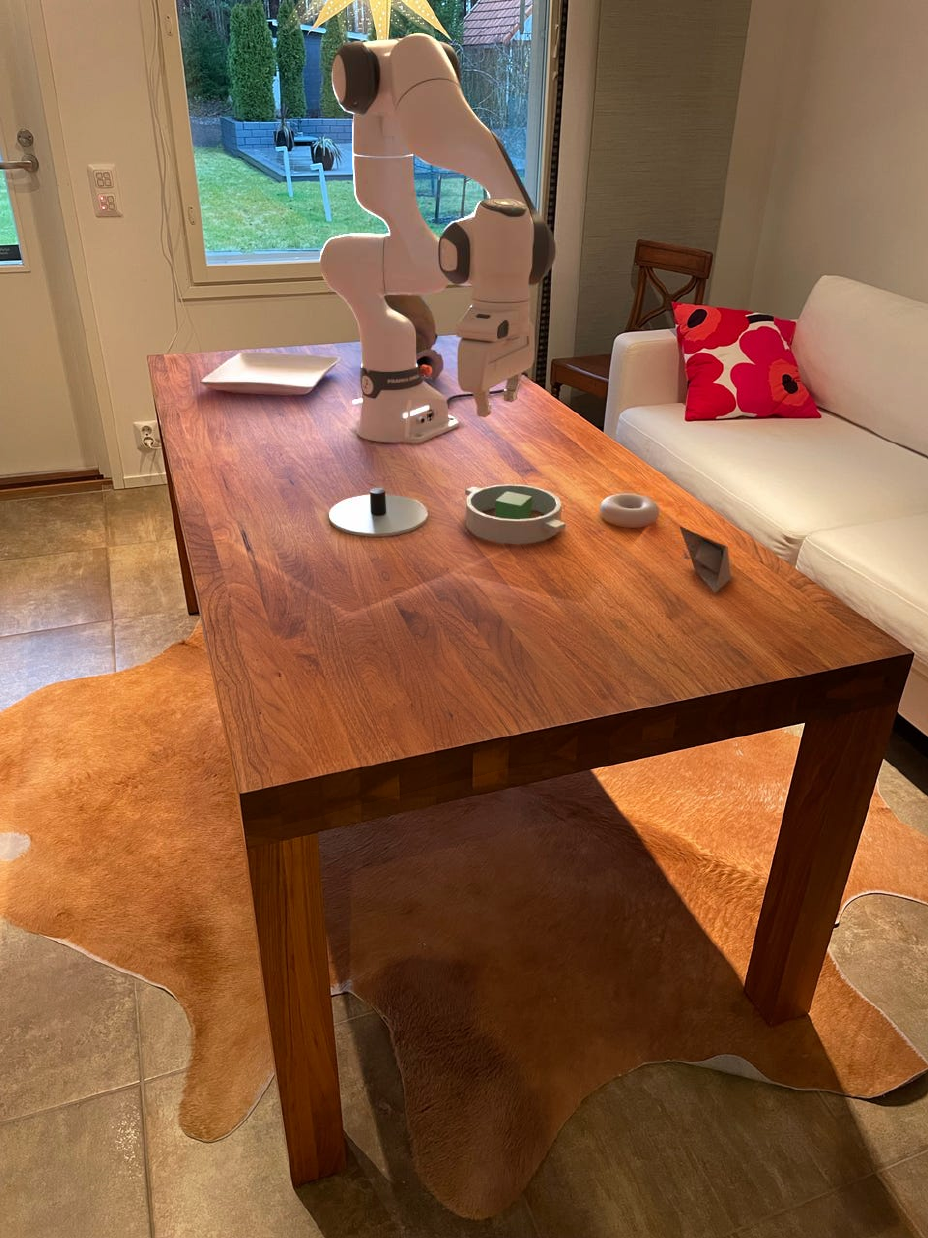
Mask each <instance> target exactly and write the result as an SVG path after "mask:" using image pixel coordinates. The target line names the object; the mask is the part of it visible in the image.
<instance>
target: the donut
mask: <svg viewBox="0 0 928 1238" xmlns="http://www.w3.org/2000/svg"><path fill="white" fill-rule="evenodd" d="M599 514H600V517H602V519H603V521H605V522H607V523H608V524H610V525H613V526H615V527H620V528H625V529H640V528H641V529H642V528H647V527H649V526H652V525H653V524H654V523H655V522H656V521H657V520H658V519H659V516H660V508H659V506H658V504H657V503H656V502H655V501H654V500H653V499H652V498H649V497H647V496H645V495H641V494H638V493H630V492H628V493H616V494H612V495H609V496H607V497H605V499H604V500H602V502H601V503H600V507H599Z"/></svg>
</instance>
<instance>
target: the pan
mask: <svg viewBox="0 0 928 1238" xmlns="http://www.w3.org/2000/svg"><path fill="white" fill-rule="evenodd" d="M464 491H465V492H464V495H465V496H467V497H466V499H465V527H466V529H467V530H468V531H469V532H471V534H473V535H475V536H476V537H479V538H481V539H483V540H486V541H490V542H493V543H498V544H510V545H511V544H512V545H528V544H534V543H535V544H536V543H539V542H543V541H546V540H548V539H551V538H552V537H554V536H555V535H557V534H558V533H559V532H561V531H564V530H566V525H567V524H566V522H563V521H561V520H562V506H563V505H562V502H561V499H560V497H558V496H557V495H556V494H554V492H552V491H549V490H546V489H545V488H542V487H538V486H532V485H527V484H516V483H515V484H514V483H503V484H492V485H488V486H483V487H478V486H476V485H474V486H471V487H468V488H465V490H464ZM507 491H508V492H513V493H518V494H523V495H528V496H532V506H531V511H536V512H539V513H541V514H543V515H539V516H536V517H531V518H529V519H504V518H498V517H495V515H494V516H493V515H489V514H486V513H484V511H488V510H493V509H495V500H497V499H498V498H499V497H500V496H502V495H503V494H504V493H506V492H507Z"/></svg>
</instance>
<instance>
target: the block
mask: <svg viewBox="0 0 928 1238" xmlns="http://www.w3.org/2000/svg"><path fill="white" fill-rule="evenodd" d="M531 506H532V496H528V495H523V494H518V493H513V492H508V491H507V492H506V493H504V494H503V495H502V496H500V497H499V498H498V499H497V500H495V508H494V517H498V518H504V519H529V518H532V510H531Z"/></svg>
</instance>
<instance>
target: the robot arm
mask: <svg viewBox="0 0 928 1238" xmlns="http://www.w3.org/2000/svg"><path fill="white" fill-rule="evenodd" d="M461 72H462V71H461V64H460V60H459V57H458V54H457V53H456V51H455V49H454V48H453V46H451V45H450V44H448V43H446V42H443V41H438V40H437V39H436V38H434V36H431V35H429V34H426V33H420V32H418V33H417V32H416V33H411V34H408V35H406V36H404V37H402V38H398V37H397V38H394V39H383V40H381V39H380V40H371V41H365V42H362V41H361V40H355V41H351V42H348V43H345V44H343V45H341V46H340V47H338V49H337V51H336V52H335V54H334V56H333V60H332V68H331V83H332V89H333V92H334V96H335V99H336V101H337V103H338V104H339V106H340V107H341V108H342V109H343V111H344V112H347V113H350V114H353V116H352V117H353V119H352V138H351V139H352V141H351V142H352V143H351V145H352V146H351V147H352V170H353V171H352V172H353V188H354V189H353V190H354V197H355V199H356V201H357V203H358V205H360V207H361V208H362V209H363V210H365V211H367V212H368V213H369V214H371V215H374V216H375V217H377V218H379V219H380V220H382V222H384V224H385V225H386V227H387V229H388V233H386V234H385V233H384V234H381V233H379V234H378V233H377V234H375V233H349V234H343V235H339V236H334V237H330V238H328V240H327V241H326V242H325V243H324V245H323V248H322V249H321V251H320V256H319V269H320V274H321V277H322V278H323V280H324V282H325V284H326V285H327V287H329V288H330V289H331V290H332V291H333V292H334V293H336V294H337V295H338V296H339V297H340V298H342V299H343V301H344V302H345V303H346V305H347V306H348V308H349V309H350V310H351V313H352V314H353V316H354V319H355V321H356V324H357V327H358V333H359V341H360V351H361V364H360V366H359V378H360V380H359V381H360V387H361V388H360V389H361V392H362V394H361V395H362V396H361V398H358V399H353V400H352V404H353V405H355V404H359V403H361V407H360V414H359V415H360V416H359V421H358V426H357V429H356V434H357V435H358V436H359V437H361V438H362V439H364V440H367V441H371V442H378V443H405V444H406V443H407V444H421V443H424V442H425V441H428V440H430V439H433V438H436V437H438V436H440V435H443V434H445V433H447V432H450V431H452V430H454V429H457V428H459V427H460V421H459V420H458V418H457V417H455V416H453V415H451V414H449V409H450V402H451V401H453V400H455V399H459V398H470V397H473V399H474V402H475V405H476V415H477V416H478V417H481V418H486V417H489V416H490V415H491V414H492V403H490V402H489V395H495V394H503V397H502V399H503V401H504V402H506V403H513V402H515V401H517V399H518V389H519V387H520V383H521V381H522V376H523V375H524V377H529V375H528V372H526V371H527V370H528V369H530V368H532V367H533V366H534V365H533V364H534V362H535V357H536V355H535V350H536V349H535V343H536V342H535V328H534V324H533V323H532V322H531V321H530V320H531V318H530V316H531V290H530V286H535V285H537V284H539V283H540V282H541V281H542V280H543V279H544V278H545V277H546V276H547V274H548V273H549V271H550V270H551V269H552V266H553V265H554V262H555V259H556V255H557V254H556V252H557V249H556V248H557V246H556V241H555V237H554V234H553V232H552V230H551V228H550V226H549V224H547V222H546V221H545V219H544V218H543V217H542V215H541V214H540V213H539V212H538V210H537V209H536V207H535V204H534V202H533V201H532V199H531V197H530V195H529V193H528V191H527V190H526V188H525V185H524V183H523V182H522V179H521V178H520V176H519V173H518V172H517V169H516V167H515V165H514V164H513V161H512V160H511V157H510V155H509V154H508V152H507V150H506V148H505V146H504V144H503V143H502V142H501V140H500V138H499V136H498V135H497V134H496V133H495V132H493V131H492V130H491V129H490V128H489V127H487V126H486V124H484V123H483V122H482V121H481V120H480V119H479V118H478V116H477V115H476V114H475V112H474V111H473V110H472V107H470V104H469V103H468V102H467V100H466V97H465V95H464V93H463V89H462V87H461V83H462V75H461V74H462V73H461ZM414 156H415V157H416V158H417V159H419V160H421V161H422V162H423V163H425V164H427V165H431V166H432V167H436V168H439V169H445V170H447V171H451V172H454V173H456V174H460V175H462V176H465V177H467V178H469V179H471V180H473V181H475V182H477V184H479V185H480V186H481V187H482V188H483V190H485V191H486V193H487V195H488V198H485V199H482V200H480V201H479V202H478V203H477V205H476V207H475V209H474V212H472V213H471V214H469V215H468V216H465V217H464V218H460V219H458V220H455V221H451V222H450V223H449V224H448V225H447V226H446V227H445V228H444V229H443V232H442V233H441V235H440V237H439V236H438V235H437V234H436V233H435V232H434V231H433V230H432V229H431V228H430V226H429V225H428V224H427V222H426V221H425V219H424V217H423V215H422V213H421V211H420V208H419V204H418V200H417V194H416V187H415V171H414ZM450 282H451V283H452V285H458V286H461V287H472V292H471V298H470V299H471V301H470V304H471V305H469V306H468V308H467V310H466V312H465V313H464V314H463V316H462V317H461V318H460V319H459V320H458V321H457V323H456V325H455V335H456V337H457V338H460V340H459V342H458V346H457V359H456V360H457V361H456V363H457V382H458V386H459V389H460V391H462V392H466V393H462V394H461V393H460V394H455V395H451V396H450V397H448V398H447V399H446V397H445V396H444V395H443V394H441V392H440V391H438V390H436V389H435V388H434V387H432V386H431V385H430V384H429V383H427V382H426V381H425V380H424V378H423V377H424V376H425V375H427V376H430V375H431V374H430V373H432V371H433V370H432V368H431V366H427V365H425V364H424V365H422V366H420V365H419V364H417V363H416V331H415V328H414V325H413V324H412V322H411V321H410V320H409V319H408V318H406V317H405V316H403V315H402V314H400V313H398V312H396V311H394V310H392V309H391V308H390V307H389V306H388V305H387V303H386V302H385V299H384V296H385V295H419V296H420V295H421V296H424V295H425V296H426V295H431V294H437V293H440V292H443V291H444V290H445V289H446V288H447V286H448V285H449V283H450ZM422 374H425V375H424V376H423V375H422ZM505 381H506V384H505V388H503V389H496V390H491V389H492V388H495V387H496V386H498V385H500V384H501V383H503V382H505Z"/></svg>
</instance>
